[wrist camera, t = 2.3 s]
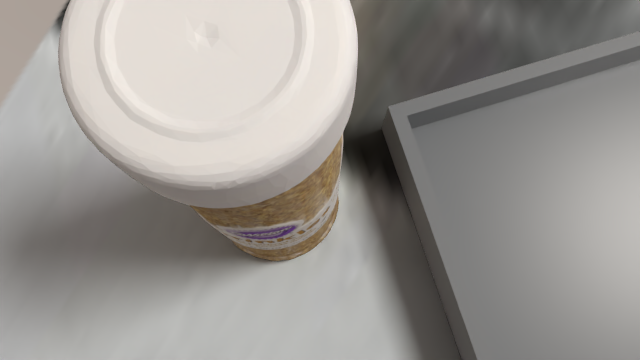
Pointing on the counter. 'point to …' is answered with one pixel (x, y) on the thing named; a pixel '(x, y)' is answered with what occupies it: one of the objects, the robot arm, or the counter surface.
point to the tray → (531, 204)
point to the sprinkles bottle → (220, 107)
